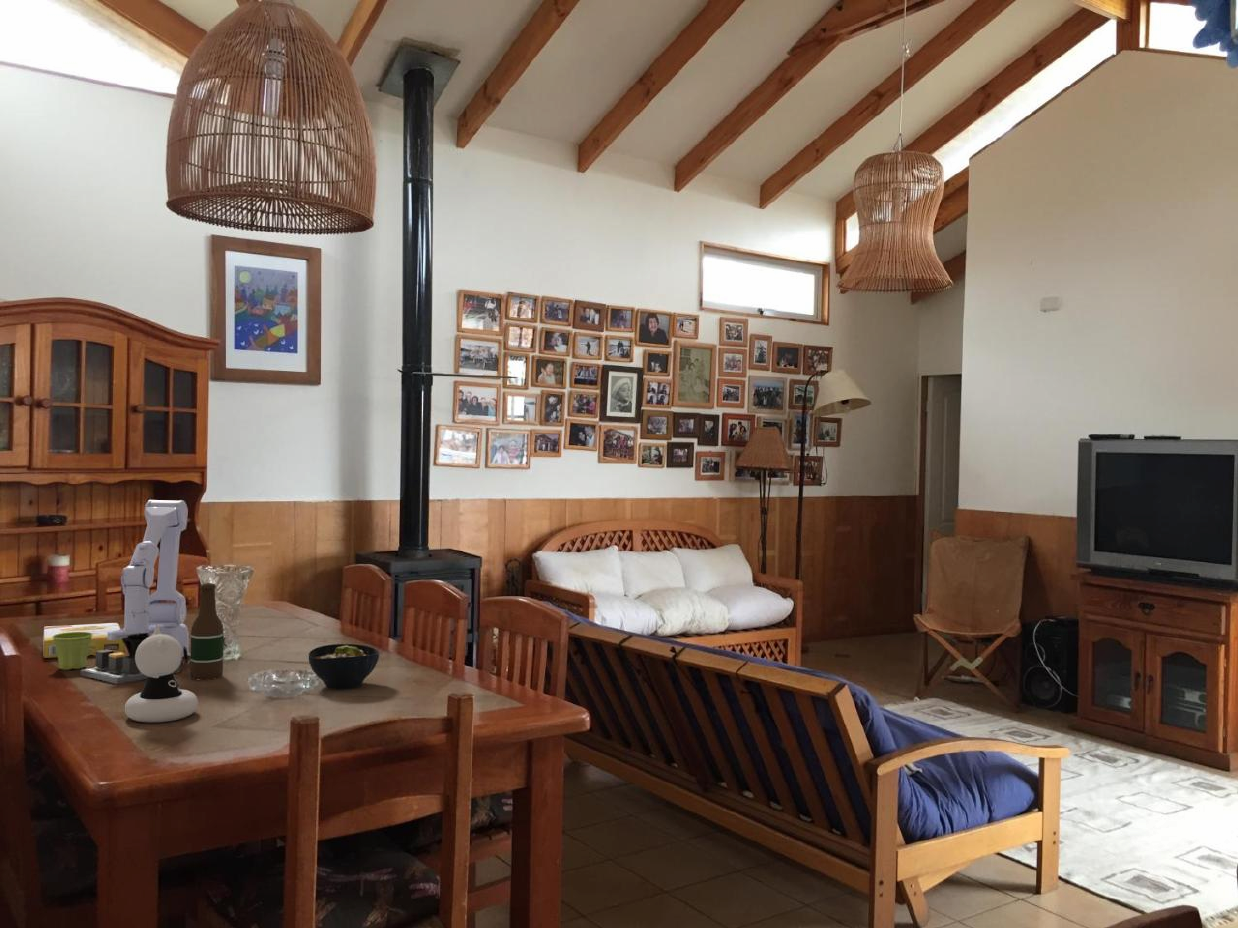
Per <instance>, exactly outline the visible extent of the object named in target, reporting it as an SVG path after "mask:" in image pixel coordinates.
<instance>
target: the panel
mask: <svg viewBox="0 0 1238 928" xmlns="http://www.w3.org/2000/svg"><path fill="white" fill-rule="evenodd" d="M112 653H113V651H112V650H107V649H106V650H100V651H96V655H94V657H95V659H94V661H95V662H94V663H95V664H94V665H95V666H94V667H90V668H89V667H88V668H84V669H83V668H82V669H80V676H81V677H83V678H84V677H85V678H88V679H92V678H94V680H96V679H97V681H100V680H102V681H101V682H105V681H106V683H110V684H114V685H121V684H125V683H132V682H137V681H143V680H146V679H147V678H148V676H146V675H144V674H143V673H142V672H141V671H140V670H139V669H138V667H137V665H136V662H135V655H132V656H129V655H127V656H126V657H123V668H122V670H120V671H112V670H109V654H112ZM178 672H179V673H180V666H179V667H178V668H177V669H176V670H175V671H174V672H173V674H177V673H178ZM179 673H178V674H179Z"/></svg>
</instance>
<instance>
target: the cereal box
mask: <svg viewBox="0 0 1238 928" xmlns="http://www.w3.org/2000/svg"><path fill="white" fill-rule="evenodd" d="M120 629H121V628H120V625H119V623H118V622H108V623H107V622H106V623H89V624H88V623H87V624H74V625H69V624H68V625H51V626H44V628H43V638H42V639H43V640H42V641H43V642H42V650H43V651H42V655H43V658H45V659H47V658H48V659H50V658H52V659H53V658H58V655H57V649H56V644H55V642H54V639H53V638H52V636H54V635H57V634H62V633H69V632H90V633H93V636H91V640H90V642H89V648H88V654H87V657H88V656H89V657H90V655H93V656H95V655H96V651H100V650H106V649H107V650H112V651H113V653H119V652H121V653H125V644H124V642H123V641H122V638H121V639H116V640H108V639H107V637H108V632H112V631H116V630H120Z"/></svg>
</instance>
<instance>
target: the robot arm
mask: <svg viewBox="0 0 1238 928" xmlns="http://www.w3.org/2000/svg"><path fill="white" fill-rule="evenodd" d="M188 512H189V510H188V506H187V503H186V501H185V500H182V499H180V500H164V499H163V500H158V499H149V500H148V501H147V502H146V503H145V506H144V518H145V520H146V524H147V526H146V529H145V532H144V536H143V540H142V542H139V543H138V544H137V545H136V547H135V549H134V551H133V554H132V557H131V560H130V563H129V565H127V566H126V567H123V569H122V571H121V576H120V583H121V587H122V594H123V595H124V621H123V622H124V628H120V630H116V631H112V632H108V637H107V639H108V640H116V639H121V638H122V641H123V642H124V647H126V650H127V653H128V656H132V655H135V654H136V650H137V648H138V646H139V645H140V643H141V642H142V641H144V640H145V639H146V638H148V637H150V636H153V633H154V630H155V626H156V623H157V624H158V627H159V629H160V631H161V634H164V635H168V636H171V637H173V638H174V639H176V640H177V641H178V643H179V644H180V646H181V648H182V654H183V648H184V647H183V646H185V647H186V648H185V649H187V657H190V656H191V653H190V652H189V650H190V647H189V646H190V634H189V633H190V632H189V629H188V627H187V625H186V624H185V623H184V622H185V620H186V617H187V605H186V597H185V596H184V595H183V594H182V593H180V592H179V591H178V590H177V578H178V577H177V575H178V562H179V551H180V538H181V532H183V531H184V530H187V525H188V514H189V513H188ZM159 543H160V545H159V546H160V547H158V544H159ZM158 556H159V557H158ZM157 558H158V569H157V571H158V572H157V583H156V590H155V591H154V592H152V593H151V594H150V588H151V586H153V582H154V579H155V577H154V575H155V568H154V566H155V565H156V562H157ZM182 658H185V656H184V654H183V655H182Z"/></svg>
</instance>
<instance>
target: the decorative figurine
mask: <svg viewBox="0 0 1238 928" xmlns="http://www.w3.org/2000/svg"><path fill="white" fill-rule="evenodd" d="M149 636H150V637H148V638H146V639H145V640H144V641H142V642H141V643H140V645H139V646H138V648H137V650H136V654H135V662H136V665H137V667H138V669H139V670H140V671H141V672H142V673H143V674H144V675H146V676H148V679H147V680H146V682H145V684H144V685H143V688H142V690H141V692H139V693H135V694H132V696H131V697H130V698H128V699H127V701H126V702H125V704H124V712H125V714H126V716H127V717H128V718H129V719H130V720H132V721H135V722H138V723H139V722H140V723H148V724H149V723H166V722H173V721H178V720H182V719H185V718H187V717H189V716H191V715H192V714H194V712H196V710H197V708H198V705H199V699H198V697H197V695H196V694H195V693H194V692H193V691H190V690H187V689H181V688H180V686H179V682H178V681H177V679H176V676H175V675H174V674H175V673H174V674H173V672H174V671H175V670H176V669H177V668H178V667H179V668H180V667H181V668H183V665H184V663H183V657H182V655H183V654H184V661H185V664H187V662H188V656H187V649H185V648H186V647H185V646H183V647H184V648H183V654H182V648H181V646H180V644H179V643H178V641H177V640H176V639H174V638H173V637H171V636H168V635H164V634H161V631H160V629H159V627H158V624H157V623H156V626H155V630H154V633H153V636H151V635H149Z"/></svg>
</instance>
